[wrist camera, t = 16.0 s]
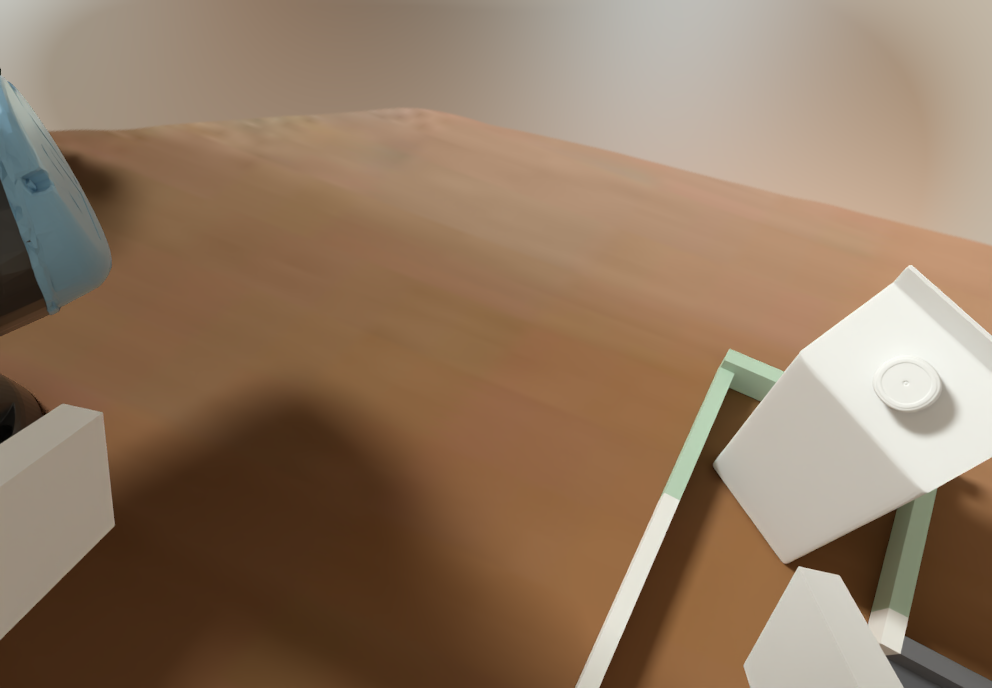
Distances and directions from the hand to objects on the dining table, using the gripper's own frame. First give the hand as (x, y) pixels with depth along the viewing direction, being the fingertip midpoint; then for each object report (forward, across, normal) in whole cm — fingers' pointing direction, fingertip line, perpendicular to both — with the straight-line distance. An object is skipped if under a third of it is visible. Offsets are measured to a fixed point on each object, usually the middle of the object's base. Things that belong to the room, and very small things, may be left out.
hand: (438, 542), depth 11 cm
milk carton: (+24, +21, -12) cm, 34 cm away
